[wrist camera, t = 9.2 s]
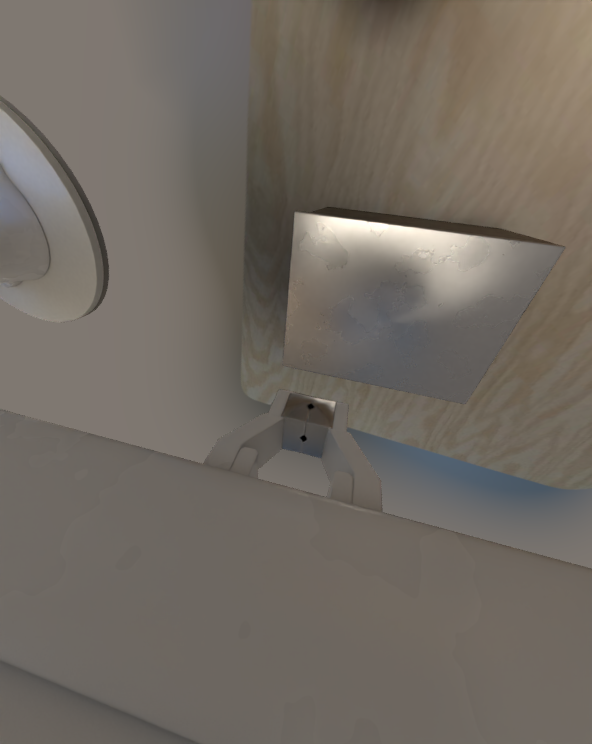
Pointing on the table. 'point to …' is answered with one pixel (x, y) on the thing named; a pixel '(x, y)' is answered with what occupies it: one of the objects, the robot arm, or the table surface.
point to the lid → (405, 301)
